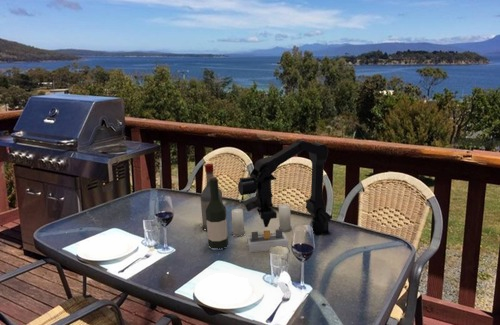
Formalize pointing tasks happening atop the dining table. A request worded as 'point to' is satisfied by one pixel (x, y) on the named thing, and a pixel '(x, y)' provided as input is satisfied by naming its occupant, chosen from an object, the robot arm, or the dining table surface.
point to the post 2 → (284, 218)
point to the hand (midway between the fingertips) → (265, 226)
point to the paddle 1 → (255, 235)
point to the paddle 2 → (278, 233)
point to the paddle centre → (267, 234)
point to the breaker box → (266, 242)
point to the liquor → (207, 194)
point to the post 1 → (237, 222)
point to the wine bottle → (216, 218)
